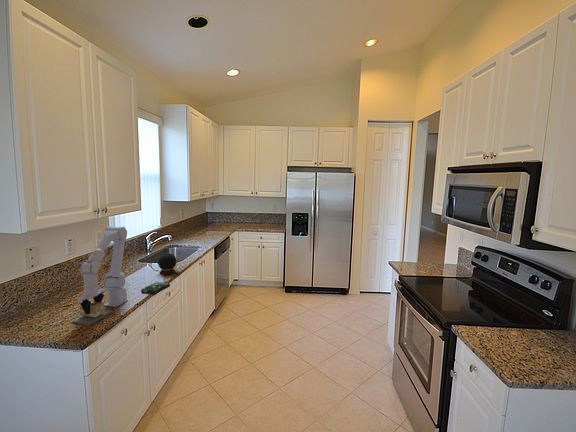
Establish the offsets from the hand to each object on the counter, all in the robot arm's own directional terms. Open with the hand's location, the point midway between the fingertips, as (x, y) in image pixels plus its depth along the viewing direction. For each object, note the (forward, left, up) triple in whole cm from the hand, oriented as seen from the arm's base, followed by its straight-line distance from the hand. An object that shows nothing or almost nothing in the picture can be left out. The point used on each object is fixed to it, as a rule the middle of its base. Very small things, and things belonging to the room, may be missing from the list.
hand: (92, 311), depth 150 cm
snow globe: (-74, -7, -4) cm, 74 cm away
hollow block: (0, 0, -2) cm, 2 cm away
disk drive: (-42, +6, -4) cm, 43 cm away
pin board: (0, 0, -3) cm, 3 cm away
